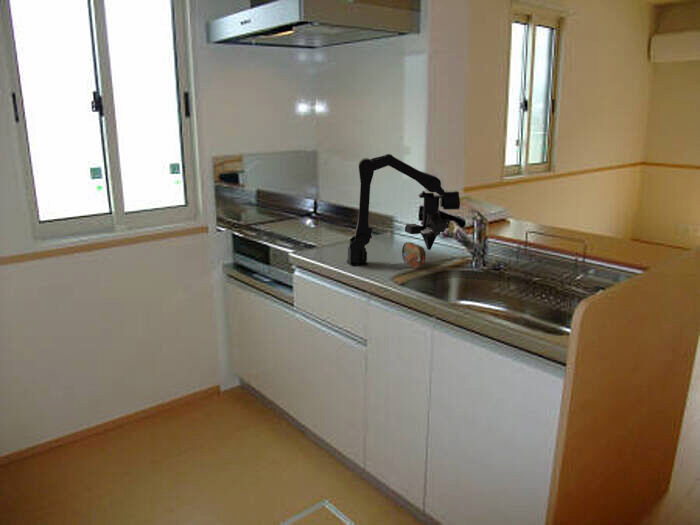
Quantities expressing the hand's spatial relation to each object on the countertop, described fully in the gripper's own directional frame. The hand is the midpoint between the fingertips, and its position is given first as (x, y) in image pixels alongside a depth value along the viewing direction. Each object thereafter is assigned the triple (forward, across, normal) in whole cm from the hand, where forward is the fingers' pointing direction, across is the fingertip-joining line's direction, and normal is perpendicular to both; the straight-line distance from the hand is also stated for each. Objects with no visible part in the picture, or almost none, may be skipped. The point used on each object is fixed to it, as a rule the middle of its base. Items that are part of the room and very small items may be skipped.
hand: (429, 249), depth 208 cm
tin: (+6, -6, 0) cm, 9 cm away
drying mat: (+6, -12, 0) cm, 13 cm away
